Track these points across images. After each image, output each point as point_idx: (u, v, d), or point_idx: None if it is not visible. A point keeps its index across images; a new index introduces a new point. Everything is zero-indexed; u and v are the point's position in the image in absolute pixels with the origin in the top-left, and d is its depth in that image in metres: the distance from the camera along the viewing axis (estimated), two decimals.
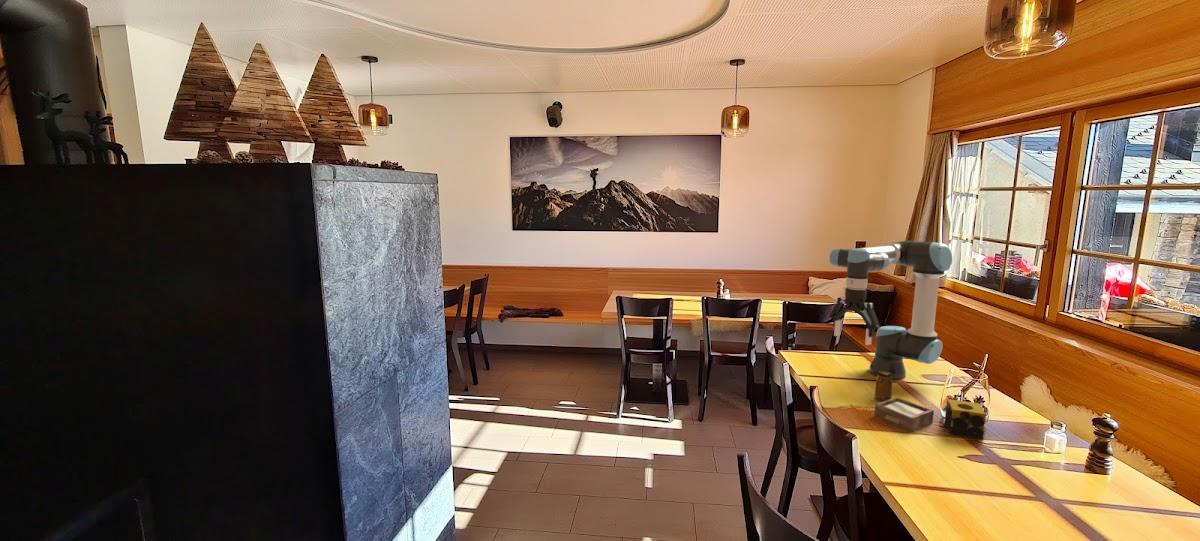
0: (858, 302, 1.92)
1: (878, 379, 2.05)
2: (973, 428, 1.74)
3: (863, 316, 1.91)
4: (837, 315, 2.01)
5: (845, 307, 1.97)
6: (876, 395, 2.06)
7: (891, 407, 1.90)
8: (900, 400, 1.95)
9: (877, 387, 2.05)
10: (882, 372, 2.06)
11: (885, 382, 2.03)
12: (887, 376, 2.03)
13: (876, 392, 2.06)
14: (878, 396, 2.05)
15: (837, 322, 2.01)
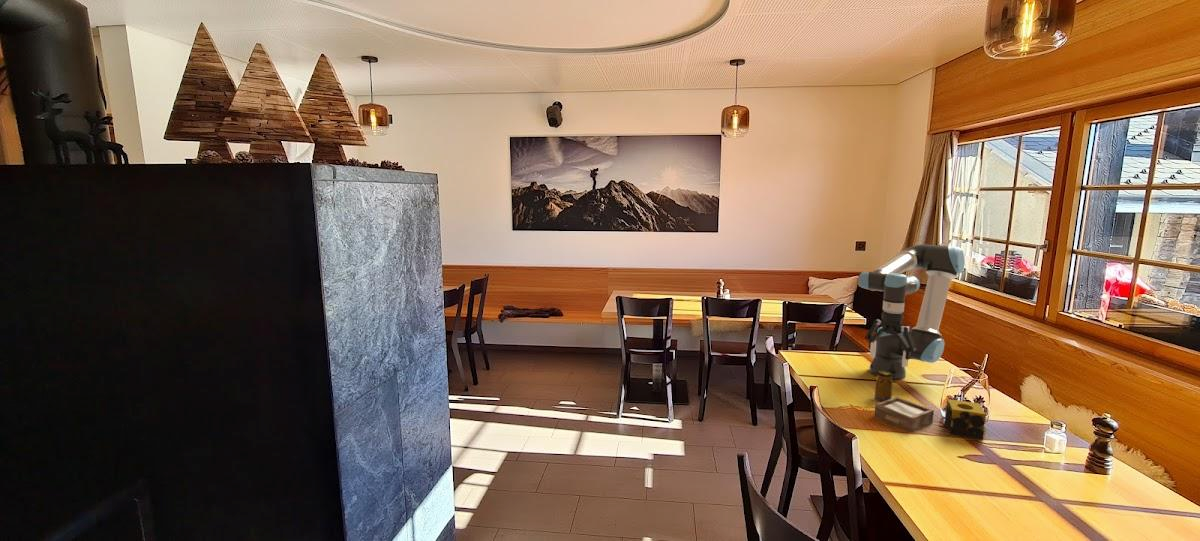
0: (895, 325, 1.98)
1: (878, 379, 2.05)
2: (973, 428, 1.74)
3: (900, 339, 1.97)
4: (873, 337, 2.07)
5: (881, 329, 2.03)
6: (876, 395, 2.06)
7: (891, 407, 1.90)
8: (900, 400, 1.95)
9: (877, 387, 2.05)
10: (882, 372, 2.06)
11: (885, 382, 2.03)
12: (887, 376, 2.03)
13: (876, 392, 2.06)
14: (878, 396, 2.05)
15: (873, 344, 2.07)
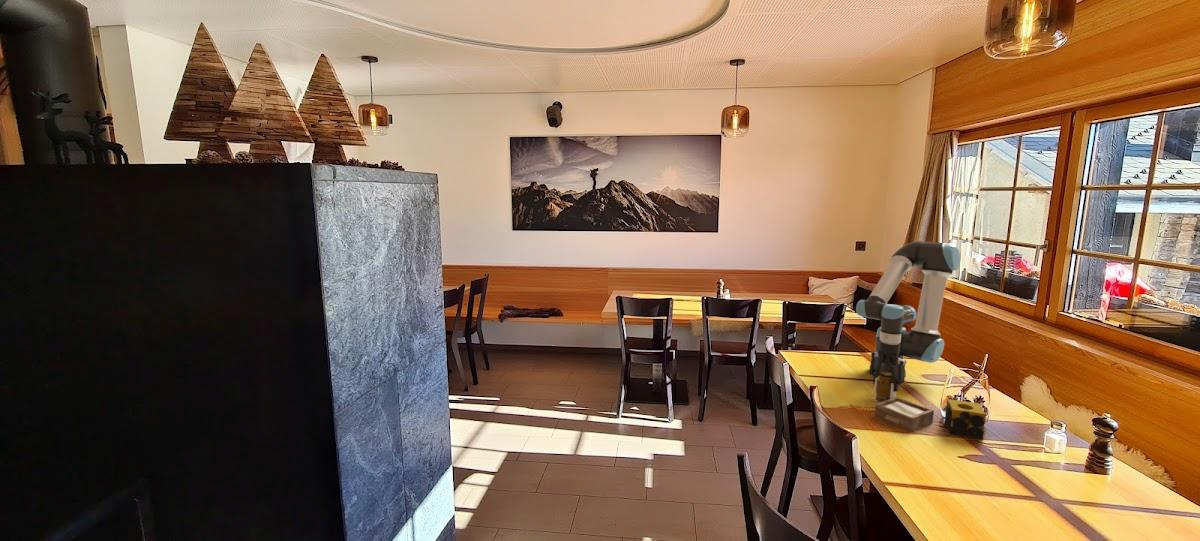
0: (893, 355, 2.00)
1: (879, 379, 2.04)
2: (973, 428, 1.74)
3: (892, 371, 2.01)
4: (876, 371, 2.07)
5: (880, 361, 2.04)
6: (877, 396, 2.05)
7: (891, 407, 1.90)
8: (900, 400, 1.95)
9: (878, 388, 2.05)
10: (884, 373, 2.05)
11: (886, 383, 2.02)
12: (888, 377, 2.02)
13: (877, 393, 2.05)
14: (879, 396, 2.04)
15: (877, 379, 2.07)
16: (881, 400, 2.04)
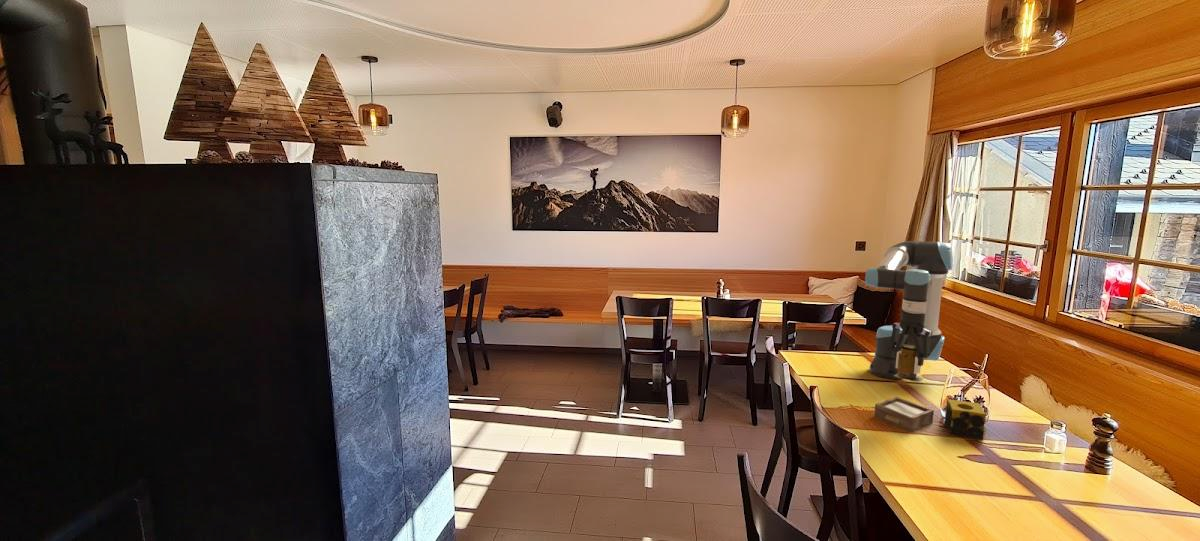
0: (917, 326, 1.80)
1: (902, 353, 1.84)
2: (973, 428, 1.74)
3: (916, 343, 1.81)
4: (898, 345, 1.87)
5: (903, 333, 1.84)
6: (900, 371, 1.85)
7: (891, 407, 1.90)
8: (900, 400, 1.95)
9: (901, 362, 1.85)
10: (906, 346, 1.85)
11: (910, 356, 1.82)
12: (912, 349, 1.82)
13: (900, 368, 1.85)
14: (902, 372, 1.84)
15: (899, 353, 1.87)
16: (904, 376, 1.84)
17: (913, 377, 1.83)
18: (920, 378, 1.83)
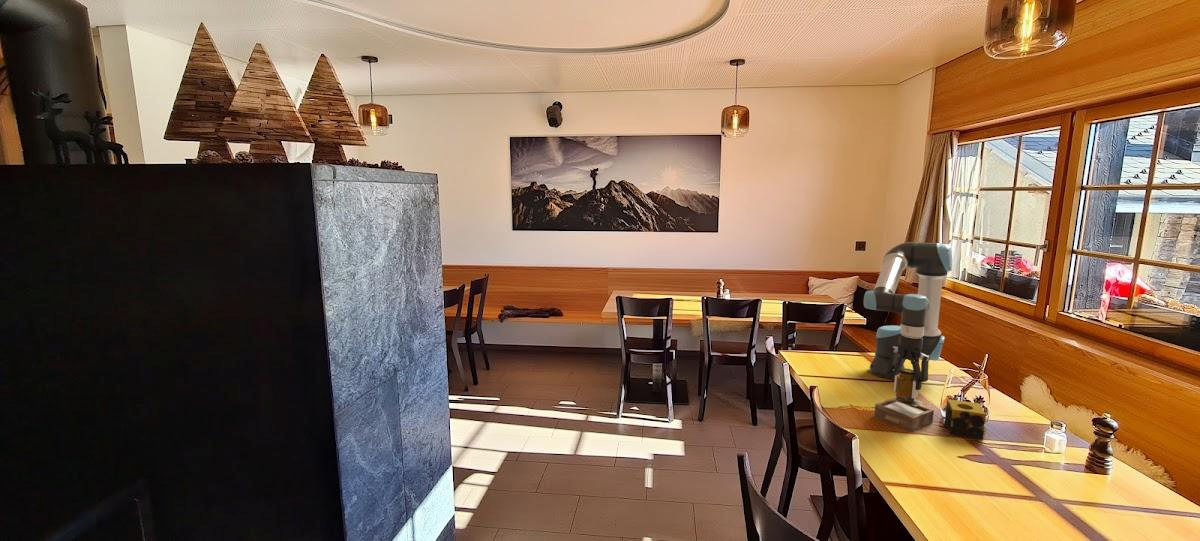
0: (915, 350, 1.81)
1: (900, 377, 1.86)
2: (973, 428, 1.74)
3: (914, 367, 1.82)
4: (896, 368, 1.88)
5: (901, 357, 1.86)
6: (898, 395, 1.87)
7: (891, 407, 1.90)
8: None
9: (899, 386, 1.86)
10: (904, 369, 1.86)
11: (908, 380, 1.83)
12: (910, 374, 1.83)
13: (898, 391, 1.87)
14: (900, 396, 1.86)
15: (897, 377, 1.88)
16: (902, 400, 1.85)
17: (911, 401, 1.84)
18: (918, 402, 1.85)
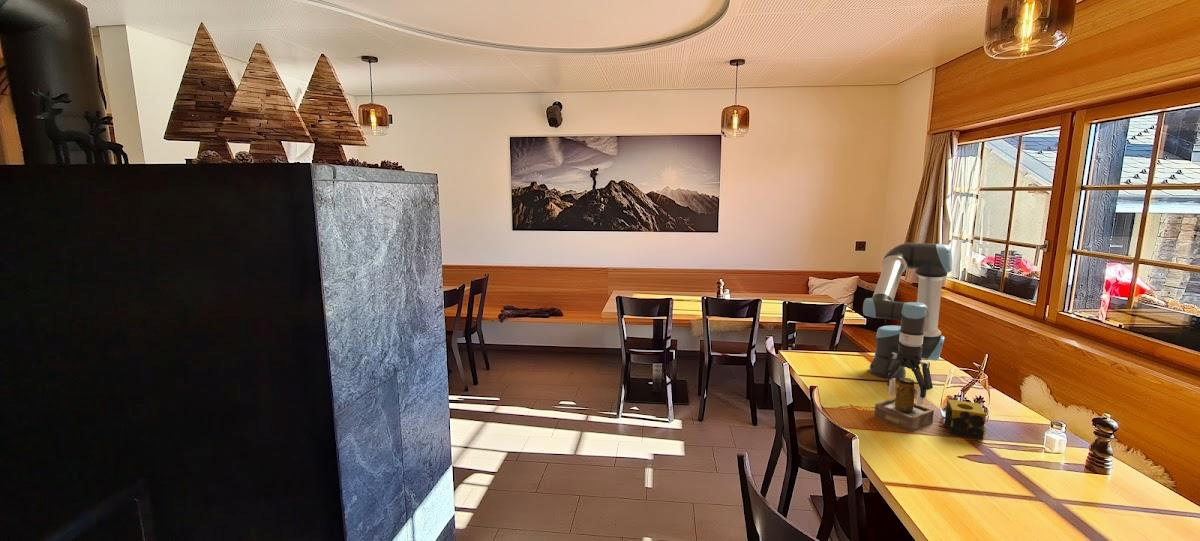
0: (913, 359, 1.82)
1: (899, 387, 1.86)
2: (973, 428, 1.74)
3: (916, 375, 1.82)
4: (891, 373, 1.90)
5: (899, 364, 1.86)
6: (897, 404, 1.87)
7: (891, 407, 1.90)
8: None
9: (898, 395, 1.87)
10: (903, 379, 1.87)
11: (907, 390, 1.84)
12: (909, 383, 1.84)
13: (897, 401, 1.87)
14: (899, 405, 1.86)
15: (892, 381, 1.90)
16: (901, 409, 1.86)
17: (910, 410, 1.85)
18: (917, 411, 1.86)
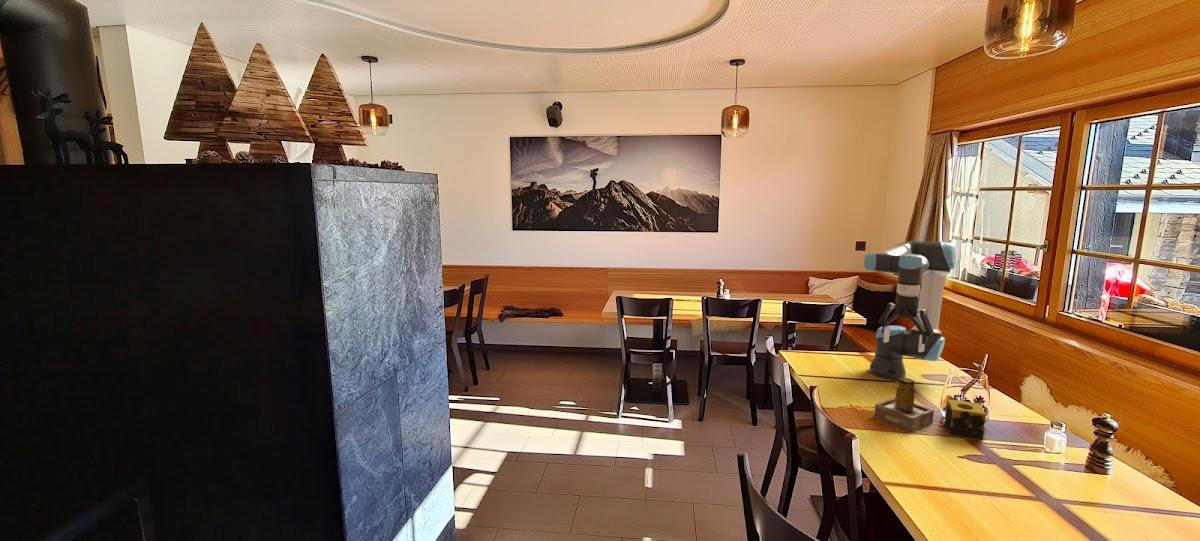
0: (910, 309, 1.88)
1: (899, 387, 1.86)
2: (973, 428, 1.74)
3: (916, 323, 1.87)
4: (886, 321, 1.97)
5: (896, 313, 1.93)
6: (897, 404, 1.87)
7: (891, 407, 1.90)
8: None
9: (898, 395, 1.87)
10: (903, 379, 1.87)
11: (907, 390, 1.84)
12: (909, 383, 1.84)
13: (897, 401, 1.87)
14: (899, 405, 1.86)
15: (886, 328, 1.98)
16: (901, 409, 1.86)
17: (910, 410, 1.85)
18: (917, 412, 1.86)
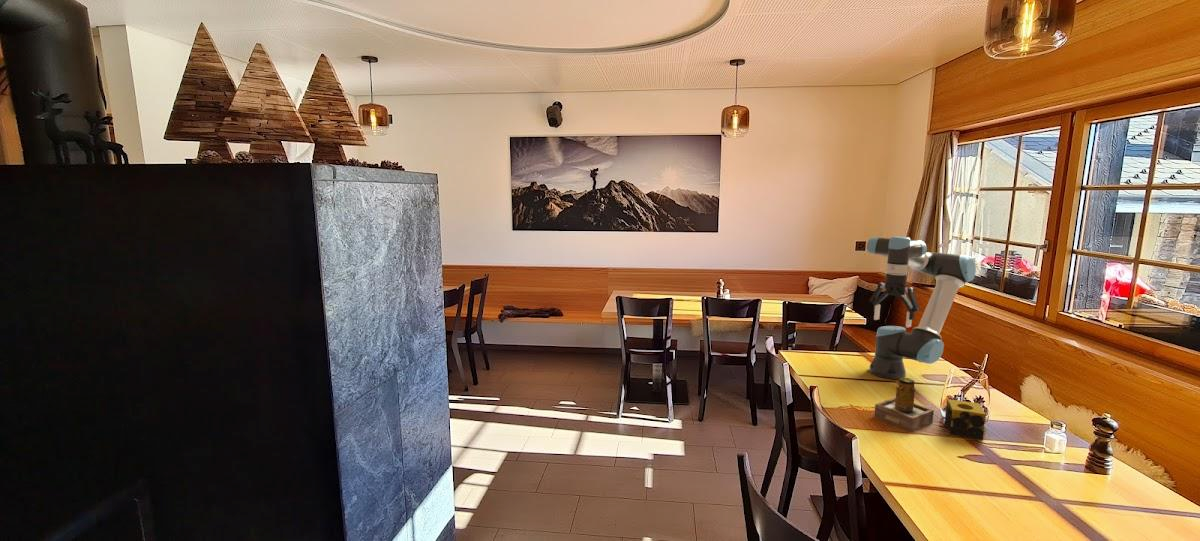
0: (899, 287, 2.03)
1: (899, 387, 1.86)
2: (973, 428, 1.74)
3: (904, 300, 2.01)
4: (877, 300, 2.11)
5: (885, 292, 2.07)
6: (897, 404, 1.87)
7: (891, 407, 1.90)
8: None
9: (898, 395, 1.87)
10: (903, 379, 1.87)
11: (907, 390, 1.84)
12: (909, 383, 1.84)
13: (897, 401, 1.87)
14: (899, 405, 1.86)
15: (877, 306, 2.12)
16: (901, 409, 1.86)
17: (910, 410, 1.85)
18: (917, 412, 1.86)
